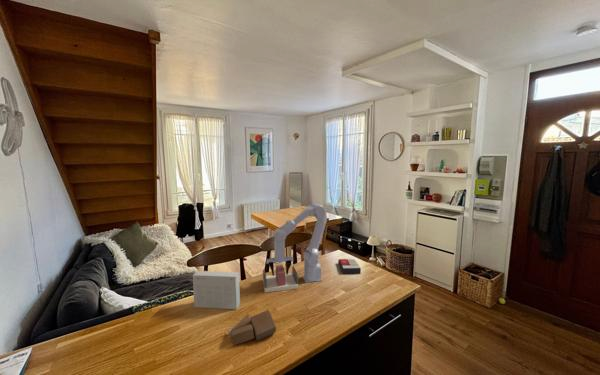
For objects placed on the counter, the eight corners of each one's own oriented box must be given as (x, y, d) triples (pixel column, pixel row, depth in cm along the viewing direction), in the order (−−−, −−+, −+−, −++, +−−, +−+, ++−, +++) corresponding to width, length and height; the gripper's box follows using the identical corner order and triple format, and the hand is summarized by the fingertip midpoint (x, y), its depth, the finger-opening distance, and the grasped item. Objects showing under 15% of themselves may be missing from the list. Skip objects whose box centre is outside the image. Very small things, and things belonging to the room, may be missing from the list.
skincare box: (240, 303, 120) (239, 272, 118) (236, 310, 115) (235, 277, 113) (199, 300, 122) (197, 270, 120) (193, 307, 117) (191, 275, 115)
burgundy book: (282, 276, 142) (282, 264, 141) (285, 285, 133) (285, 272, 132) (275, 277, 141) (275, 265, 140) (277, 286, 132) (277, 273, 131)
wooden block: (231, 333, 104) (272, 319, 109) (230, 353, 91) (278, 336, 96) (227, 316, 104) (269, 303, 108) (226, 334, 91) (274, 318, 96)
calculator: (354, 258, 164) (360, 267, 149) (354, 264, 164) (360, 274, 149) (338, 258, 164) (342, 267, 149) (338, 264, 164) (342, 274, 149)
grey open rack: (293, 276, 146) (293, 265, 146) (298, 288, 133) (298, 277, 132) (262, 279, 143) (262, 268, 142) (264, 292, 129) (264, 280, 128)
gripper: (267, 254, 130) (267, 279, 132) (294, 252, 133) (294, 276, 135) (265, 249, 137) (266, 273, 138) (291, 247, 140) (291, 270, 142)
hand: (280, 274), depth 137 cm, fingers open, 7 cm apart
